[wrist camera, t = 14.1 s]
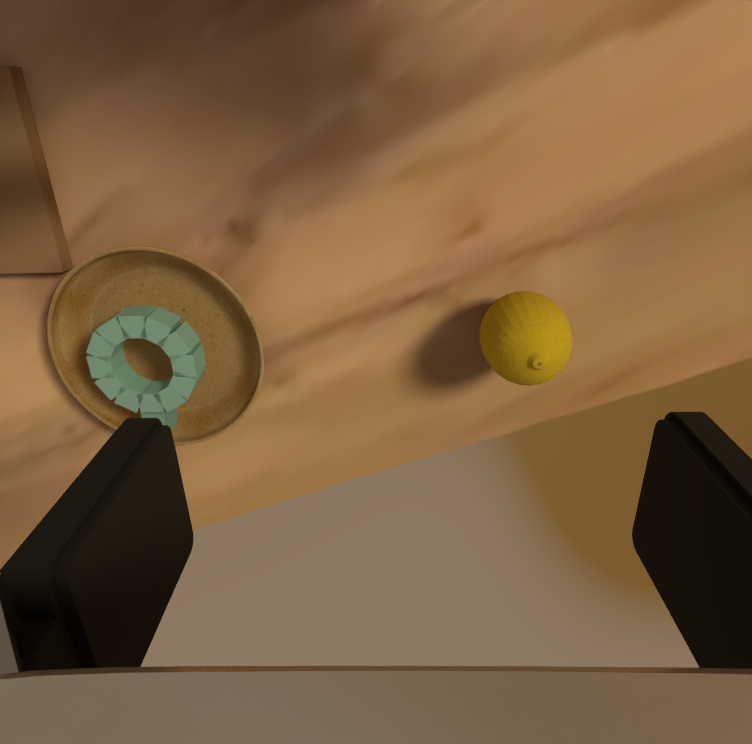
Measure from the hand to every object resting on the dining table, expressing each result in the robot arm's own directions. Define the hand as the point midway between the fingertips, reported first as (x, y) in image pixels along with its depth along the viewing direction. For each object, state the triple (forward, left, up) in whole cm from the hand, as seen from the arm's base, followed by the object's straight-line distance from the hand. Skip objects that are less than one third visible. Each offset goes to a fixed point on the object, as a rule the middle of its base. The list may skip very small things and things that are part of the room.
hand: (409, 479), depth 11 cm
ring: (+9, -17, -26) cm, 32 cm away
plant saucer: (+9, -16, -29) cm, 34 cm away
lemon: (+7, +8, -28) cm, 30 cm away
